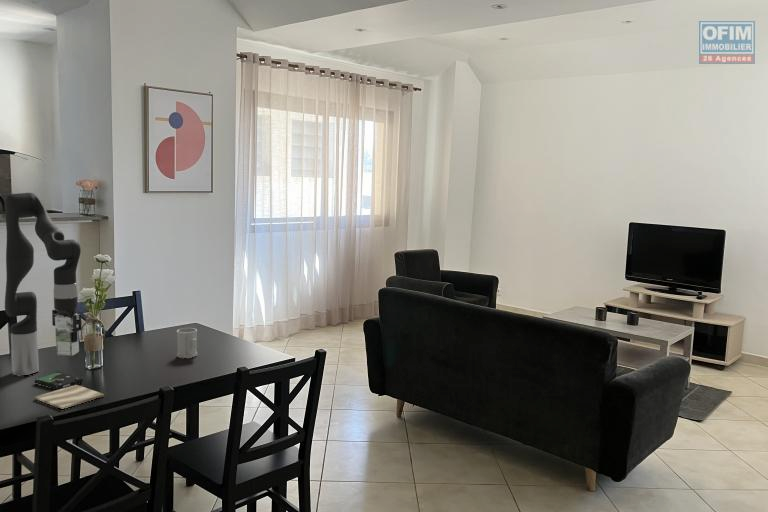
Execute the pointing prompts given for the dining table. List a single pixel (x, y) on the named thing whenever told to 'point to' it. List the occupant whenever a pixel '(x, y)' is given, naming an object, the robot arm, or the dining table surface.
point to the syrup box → (64, 337)
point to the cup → (187, 342)
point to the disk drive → (59, 380)
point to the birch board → (69, 396)
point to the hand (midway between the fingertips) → (67, 340)
